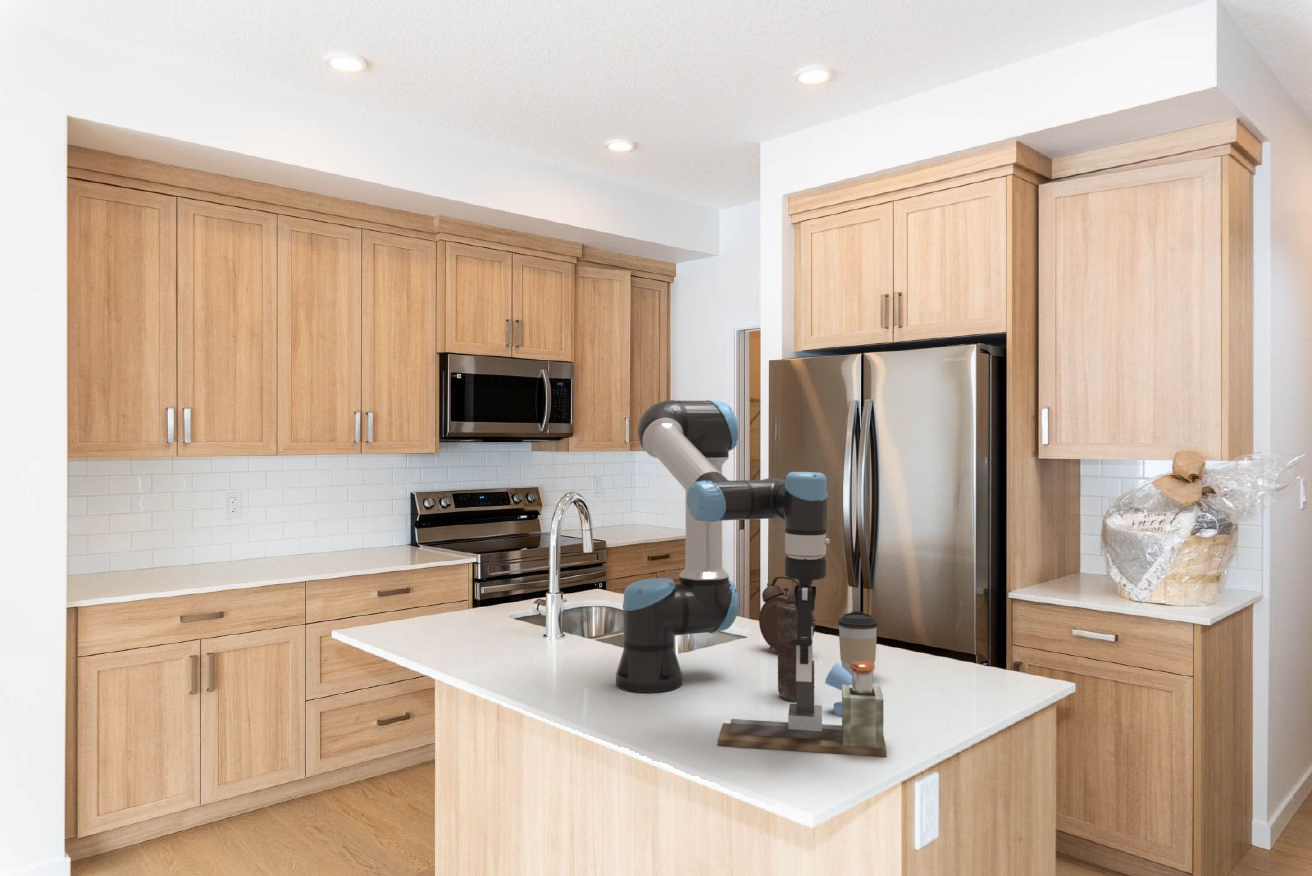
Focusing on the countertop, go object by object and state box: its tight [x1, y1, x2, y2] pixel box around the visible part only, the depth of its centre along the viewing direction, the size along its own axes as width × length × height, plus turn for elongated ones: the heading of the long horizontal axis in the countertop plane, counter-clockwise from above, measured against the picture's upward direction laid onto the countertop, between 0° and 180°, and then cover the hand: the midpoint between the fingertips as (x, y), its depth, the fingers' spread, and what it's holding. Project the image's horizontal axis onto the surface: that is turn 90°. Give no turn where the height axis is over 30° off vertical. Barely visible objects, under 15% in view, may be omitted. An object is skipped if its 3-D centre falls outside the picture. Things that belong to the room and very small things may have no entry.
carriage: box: [787, 659, 823, 731], centre depth 162 cm, size 6×7×12 cm
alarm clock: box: [758, 575, 816, 652], centre depth 227 cm, size 15×7×20 cm, turn 44°
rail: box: [717, 685, 888, 758], centre depth 162 cm, size 30×9×10 cm, turn 79°
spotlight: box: [824, 662, 852, 717], centre depth 179 cm, size 5×10×7 cm
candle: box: [777, 604, 798, 702], centre depth 190 cm, size 8×7×20 cm
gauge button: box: [850, 661, 876, 696], centre depth 160 cm, size 4×4×8 cm
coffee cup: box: [837, 610, 878, 681], centre depth 204 cm, size 9×9×15 cm
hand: (804, 670), depth 162 cm, fingers open, 13 cm apart
